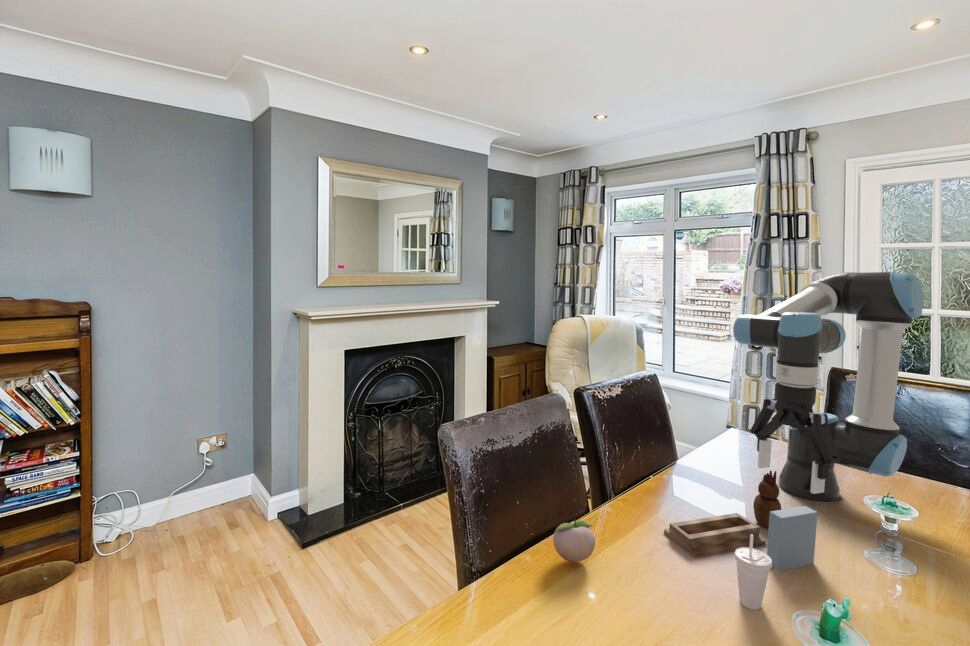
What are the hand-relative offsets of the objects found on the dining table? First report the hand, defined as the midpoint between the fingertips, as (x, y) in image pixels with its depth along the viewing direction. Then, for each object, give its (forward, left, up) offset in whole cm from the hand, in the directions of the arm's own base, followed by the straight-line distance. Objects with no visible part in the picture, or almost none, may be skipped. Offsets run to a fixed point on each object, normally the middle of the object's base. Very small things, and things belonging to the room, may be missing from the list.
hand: (788, 479), depth 107 cm
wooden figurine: (-10, -14, -19) cm, 26 cm away
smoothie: (+18, +9, -19) cm, 28 cm away
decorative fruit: (+45, -12, -19) cm, 51 cm away
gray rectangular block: (-1, +1, -19) cm, 19 cm away
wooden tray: (+8, -12, -19) cm, 24 cm away
